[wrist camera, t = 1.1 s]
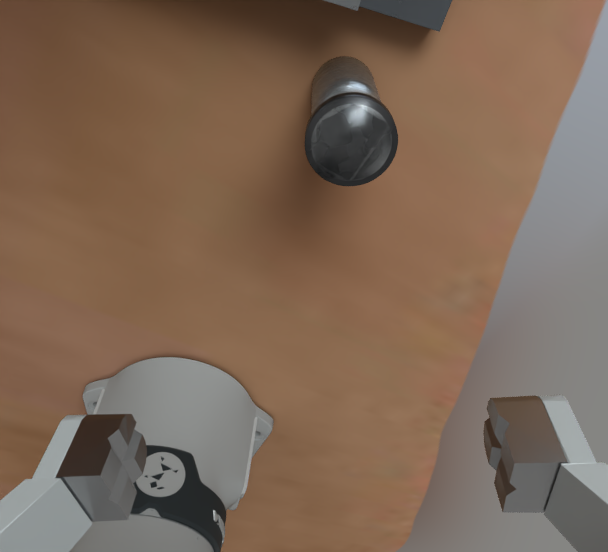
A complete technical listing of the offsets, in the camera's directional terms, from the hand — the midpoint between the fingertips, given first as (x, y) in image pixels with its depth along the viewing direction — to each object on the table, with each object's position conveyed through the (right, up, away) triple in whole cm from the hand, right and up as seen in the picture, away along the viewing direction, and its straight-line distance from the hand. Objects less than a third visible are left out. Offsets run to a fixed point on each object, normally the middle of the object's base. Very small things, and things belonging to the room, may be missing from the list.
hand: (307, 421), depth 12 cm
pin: (+2, +15, +21) cm, 26 cm away
